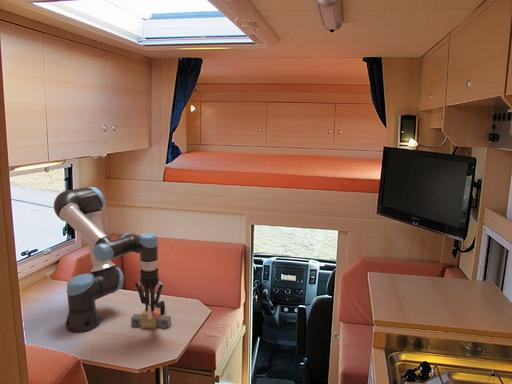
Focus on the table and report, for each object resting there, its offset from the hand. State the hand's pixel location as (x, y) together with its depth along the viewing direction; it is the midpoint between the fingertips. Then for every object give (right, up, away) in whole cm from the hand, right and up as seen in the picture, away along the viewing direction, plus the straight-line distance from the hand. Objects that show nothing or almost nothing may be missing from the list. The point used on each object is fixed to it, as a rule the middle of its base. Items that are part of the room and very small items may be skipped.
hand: (150, 317), depth 182 cm
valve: (-2, -7, +10) cm, 12 cm away
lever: (0, +2, +4) cm, 4 cm away
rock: (-2, -5, +20) cm, 21 cm away
